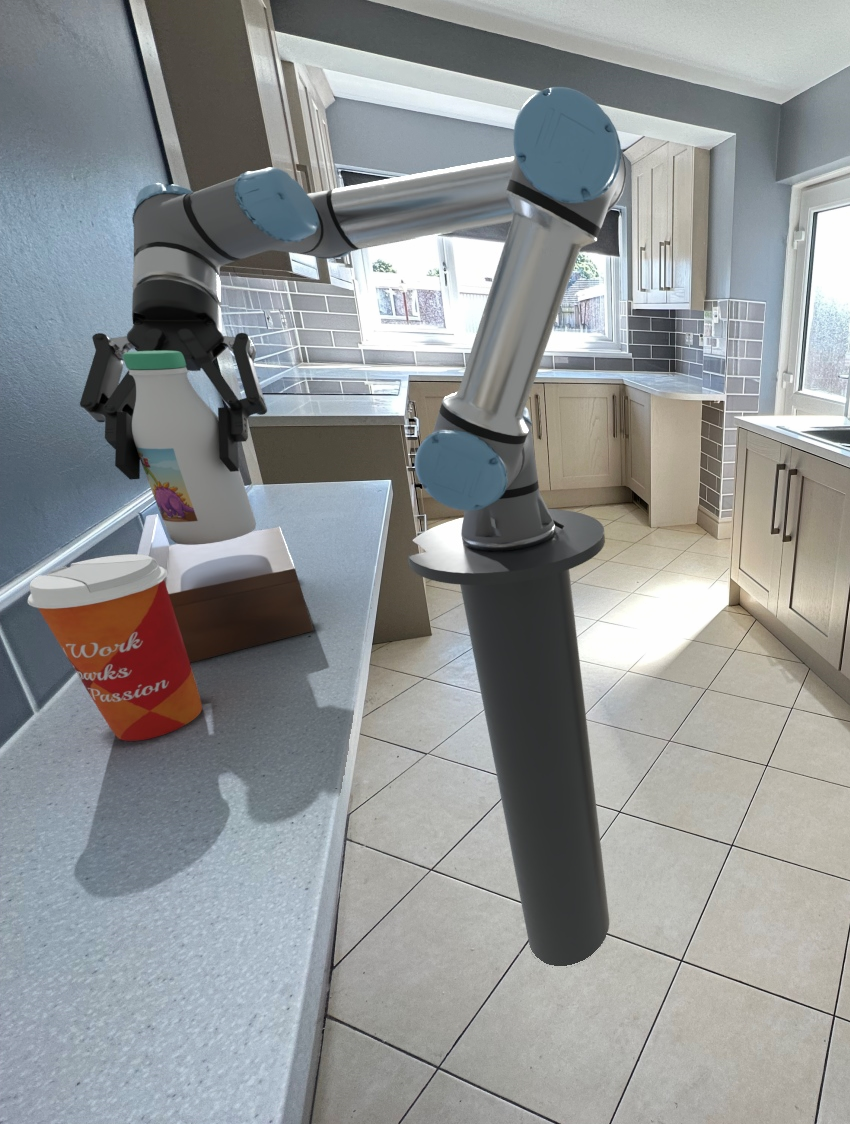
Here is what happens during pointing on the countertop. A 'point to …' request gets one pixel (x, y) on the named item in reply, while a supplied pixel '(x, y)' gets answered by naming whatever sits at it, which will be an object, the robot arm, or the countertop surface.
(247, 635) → the brown wooden box
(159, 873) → the countertop surface
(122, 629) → the coffee cup
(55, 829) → the countertop surface
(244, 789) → the countertop surface
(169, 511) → the milk bottle
